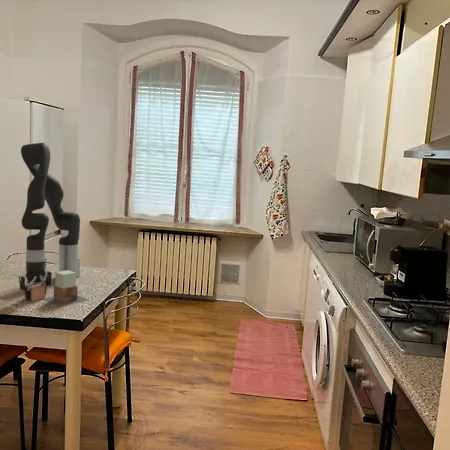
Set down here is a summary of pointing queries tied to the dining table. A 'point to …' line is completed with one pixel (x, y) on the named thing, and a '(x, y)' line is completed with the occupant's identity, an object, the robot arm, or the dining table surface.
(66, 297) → the walnut block
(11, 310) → the dining table surface
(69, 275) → the sage block
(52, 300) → the slate mat
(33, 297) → the terracotta cube
